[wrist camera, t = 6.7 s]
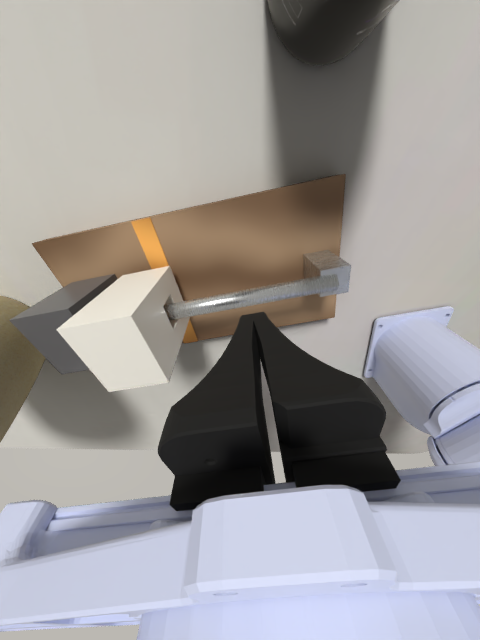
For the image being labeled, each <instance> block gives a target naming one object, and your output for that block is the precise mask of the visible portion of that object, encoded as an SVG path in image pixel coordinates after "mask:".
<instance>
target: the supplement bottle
mask: <svg viewBox="0 0 480 640" xmlns="http://www.w3.org/2000/svg"><path fill="white" fill-rule="evenodd" d="M267 1H268V6H269V11H270V14H271V18H272V21H273V24H274V27H275V29H276V32H277V34H278V36H279V38H280V40H281V41H282V43H283V44H284V46H285V47H286V48H287V50H288V51H289V52H290V53H291V54H292V55H293V56H294V57H296V58H297V59H298V60H300V61H302V62H304V63H307V64H310V65H327V64H331V63H333V62H336V61H338V60H340V59H342V58H343V57H345V56H346V55H348V54H349V53H350V52H352V51H353V50H354V49H355V48H356V47H357V46H358V45H359V44H360V43H361V42H362V41H363V40H364V39H365V38H366V37H367V36H368V35H369V34H370V33H371V32H372V31H373V29H374V28H375V27H376V26H377V25H378V24H379V23H380V22H381V21H382V19H383V18H384V17H385V16H386V15H387V14H388V13H389V12H390V11H391V9H392V8H393V7H394V6H395V5H396V4H397V3H398V2H399V0H267Z"/></svg>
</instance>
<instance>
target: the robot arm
mask: <svg viewBox="0 0 480 640" xmlns="http://www.w3.org/2000/svg"><path fill="white" fill-rule="evenodd" d="M453 311H454V309H453V308H452V307H450V306H446V307H440V308H434V309H428V310H422V311H416V312H410V313H404V314H398V315H392V316H386V317H380V318H377V319H376V320H375V322H374V326H373V331H372V336H371V341H370V346H369V350H368V355H367V360H366V365H365V370H364V376H365V377H366V378H370V377H373V378H374V379H375V381H376V382H377V383H378V385H379V386H380V387H381V389H382V390H383V392H384V393H385V394H386V396H387V397H388V398H389V400H390V401H391V402H392V404H393V405H394V407H395V408H396V409H397V411H398V412H399V413H400V415H401V416H402V417H403V418H404V419H405V420H406V421H407V422H408V423H410V424H411V425H412V426H414V427H415V428H417V429H419V430H421V431H422V432H425V433H427V434H430V435H432V436H430V437H429V438H428V440H427V445H428V449H429V453H430V456H431V459H432V461H433V463H434V465H435V466H432V467H423V468H414V469H405V470H395V469H394V467H393V466H392V464H391V462H390V460H389V458H388V457H387V455H386V453H385V452H386V450H387V449H386V446H385V444H384V442H383V441H382V439H381V437H380V433H381V430H382V427H383V424H384V421H385V418H386V411H385V409H384V407H383V405H382V404H381V402H380V401H379V399H378V398H377V397H376V395H375V394H374V393H373V392H372V391H371V389H370V388H369V387H368V386H367V385H366V384H365V383H364V381H363V380H362V379H360V378H357V377H355V376H352V375H350V374H347V373H345V372H342V371H340V370H337V369H335V368H333V367H331V366H329V365H327V364H325V363H323V362H321V361H319V360H318V359H316V358H314V357H313V356H311V355H309V354H308V353H306V352H305V351H303V350H302V349H300V348H299V347H298V346H296V345H295V344H294V343H292V342H291V341H290V340H289V339H288V338H287V337H286V336H284V335H283V334H282V333H281V332H280V331H279V330H278V328H277V327H276V326H275V325H274V324H273V323H272V322H271V320H270V319H269V318H268V316H267V315H266V313H265V312H258V313H253V314H247V315H242V316H241V317H240V319H239V323H238V325H237V328H236V330H235V333H234V335H233V337H232V339H231V341H230V343H229V344H228V346H227V348H226V350H225V351H224V353H223V355H222V356H221V358H220V359H219V360H218V362H217V363H216V364H215V366H214V367H213V368H212V369H211V371H210V372H209V373H208V374H207V375H206V376H205V378H204V379H203V380H202V381H201V382H200V383H199V384H198V385H197V386H196V387H195V388H194V389H192V390H191V391H190V392H189V393H188V394H187V395H186V396H184V397H183V398H182V399H181V400H180V401H178V402H177V403H176V404H175V405H173V406H172V407H171V409H170V412H169V415H168V417H167V419H166V422H165V425H164V428H163V432H162V435H161V439H160V442H159V446H158V454H159V456H160V458H161V460H162V461H163V462H164V463H165V464H166V466H167V467H168V468H169V469H170V470H171V471H172V473H173V474H174V475H175V479H174V484H173V489H172V494H171V495H169V496H161V497H152V498H142V499H133V500H124V501H115V502H106V503H98V504H88V505H79V506H70V507H60V508H57V507H56V506H55V505H54V504H52V503H50V502H47V501H43V500H31V501H22V502H15V503H10V504H7V505H6V506H5V508H4V510H3V511H2V512H1V513H0V632H1V631H17V630H18V631H19V630H34V629H35V630H36V629H55V628H76V627H98V626H119V625H140V626H139V631H138V636H137V640H480V607H479V605H478V604H480V349H479V348H477V347H476V346H474V345H473V344H471V343H470V342H468V341H466V340H465V339H463V338H462V337H460V336H459V335H457V334H456V333H454V332H453V331H451V330H450V329H448V328H447V324H448V322H449V320H450V318H451V315H452V313H453ZM379 325H380V326H379ZM260 359H261V362H262V366H263V370H264V373H265V377H266V380H267V384H268V388H269V391H270V396H271V400H272V406H273V412H274V417H275V423H276V428H277V434H278V440H279V445H280V451H281V456H282V462H283V467H284V473H285V478H286V483H278V484H275V478H274V471H273V465H272V459H271V452H270V445H269V439H268V432H267V426H266V419H265V412H264V405H263V398H262V384H261V365H260Z"/></svg>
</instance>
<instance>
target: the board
mask: <svg viewBox="0 0 480 640" xmlns="http://www.w3.org/2000/svg"><path fill="white" fill-rule="evenodd" d="M345 177H346V174H341V175H334V176H330V177H325V178H321V179H316V180H312V181H307V182H302V183H298V184H293V185H289V186H284V187H280V188H275V189H271V190H266V191H262V192H257V193H253V194H248V195H244V196H239V197H235V198H230V199H226V200H221V201H217V202H212V203H208V204H203V205H199V206H194V207H190V208H185V209H181V210H176V211H172V212H167V213H163V214H158V215H154V216H149V217H145V218H140V219H136V220H131V221H127V222H122V223H118V224H113V225H109V226H104V227H100V228H95V229H91V230H86V231H81V232H77V233H72V234H68V235H63V236H59V237H54V238H50V239H46V240H42V241H39V242H35V243H32V245H33V246H34V248H35V249H36V250H37V252H38V253H39V254H40V256H41V257H42V259H43V260H44V261H45V263H46V264H47V266H48V267H49V268H50V270H51V271H52V273H53V274H54V275H55V277H56V278H57V279H58V281H59V282H60V284H61V285H62V286H63V287H65V286H66V285H68V284H70V283H71V282H76V281H81V280H86V279H91V278H96V277H101V276H106V275H111V274H115V275H116V277H117V279H119V278H120V277H121V276H122V275H127V274H132V273H136V272H141V271H146V270H151V269H156V268H161V267H166V266H170V268H171V270H172V273H173V275H174V278H175V281H176V283H177V286H178V288H179V291H180V294H181V296H182V299H183V301H187V300H192V299H198V298H203V297H209V296H214V295H219V294H225V293H230V292H235V291H241V290H246V289H251V288H257V287H262V286H268V285H273V284H278V283H284V282H289V281H294V280H300V279H305V277H304V257H303V254H307V253H312V252H318V251H323V250H329V251H331V252H332V253H334V254H335V255H337V256H338V257H339V254H340V241H341V229H342V216H343V203H344V190H345ZM335 306H336V294H334V295H329V296H323V297H319V295H318V294H313V295H308V296H302V297H297V298H291V299H285V300H280V301H274V302H269V303H263V304H258V305H252V306H247V307H241V308H235V309H230V310H224V311H219V312H213V313H208V314H202V315H197V316H191V317H190V319H189V322H188V325H187V328H186V331H185V334H184V337H183V341H182V343H190V342H196V341H199V340H204V339H210V338H216V337H222V336H228V335H234V333H235V330H236V328H237V325H238V323H239V319H240V317H241V316H242V315H247V314H253V313H258V312H265V313H266V315H267V316H268V318H269V319H270V320H271V322H272V323H273V324H274V325H275V326H276V327H281V326H287V325H292V324H298V323H304V322H310V321H316V320H322V319H328V318H334V317H335Z"/></svg>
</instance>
